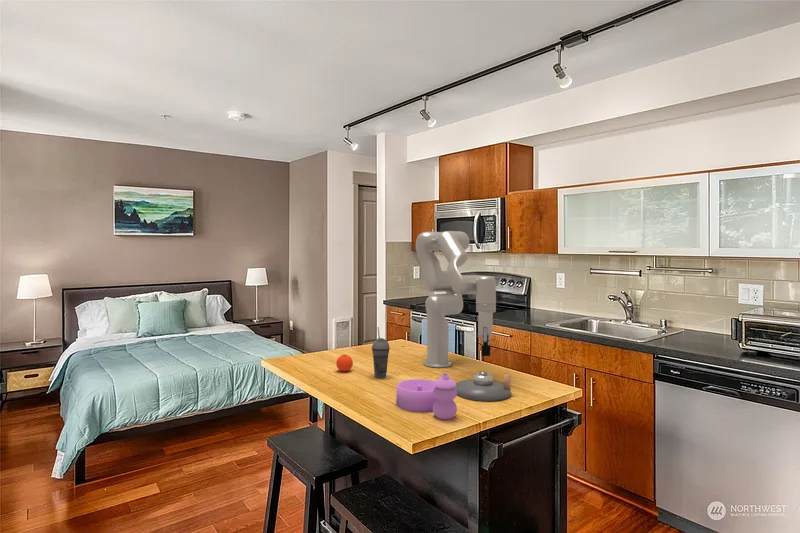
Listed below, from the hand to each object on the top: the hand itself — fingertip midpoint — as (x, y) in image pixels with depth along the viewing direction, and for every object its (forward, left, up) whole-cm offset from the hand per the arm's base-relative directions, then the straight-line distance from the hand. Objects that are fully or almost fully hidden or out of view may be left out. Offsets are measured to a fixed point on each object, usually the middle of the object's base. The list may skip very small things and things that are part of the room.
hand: (485, 355), depth 183 cm
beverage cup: (+2, -41, -11) cm, 43 cm away
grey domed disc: (+13, 0, -11) cm, 17 cm away
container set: (+35, -16, -11) cm, 40 cm away
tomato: (-3, -58, -11) cm, 60 cm away
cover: (+8, 0, -9) cm, 12 cm away
